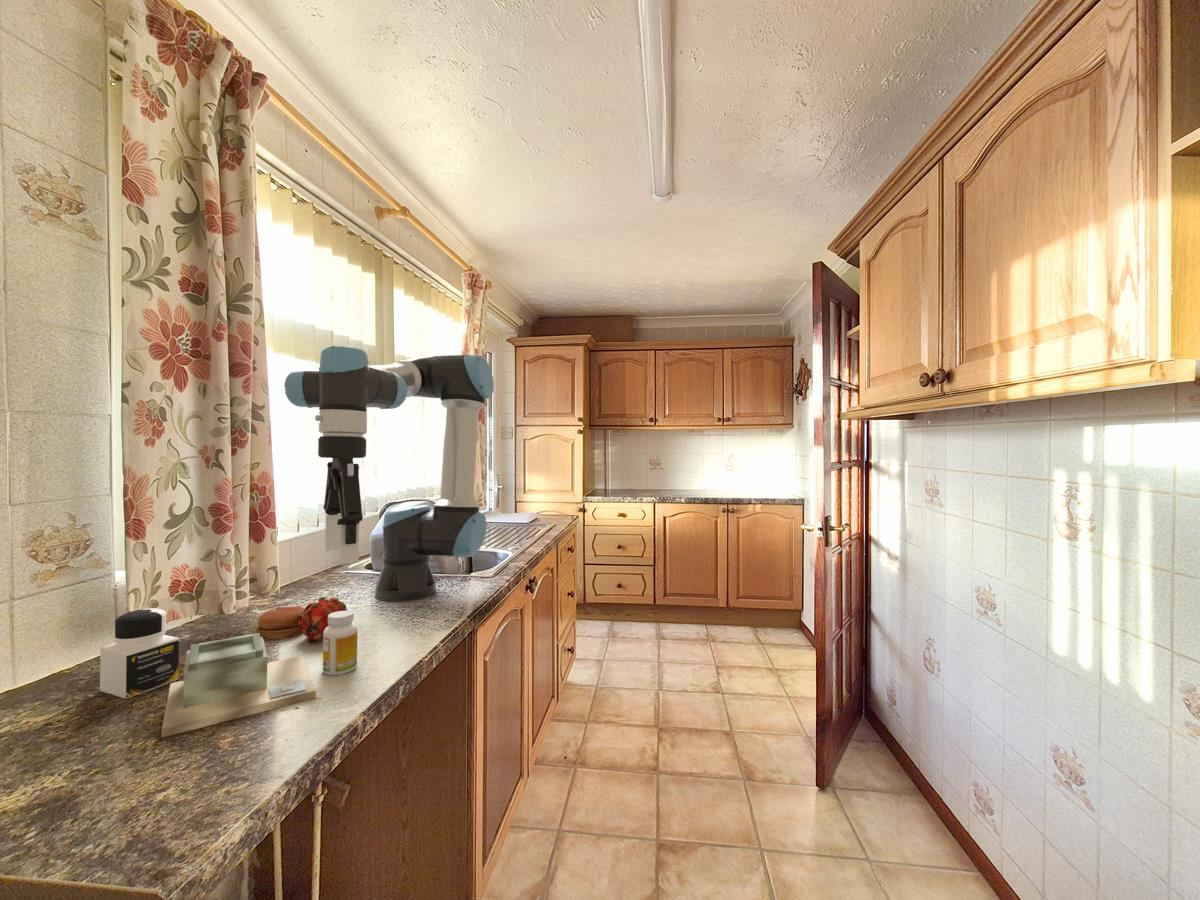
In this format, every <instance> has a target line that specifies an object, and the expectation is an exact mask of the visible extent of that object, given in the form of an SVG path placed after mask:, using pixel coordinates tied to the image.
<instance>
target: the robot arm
mask: <svg viewBox="0 0 1200 900" xmlns="http://www.w3.org/2000/svg"><path fill="white" fill-rule="evenodd" d="M368 358H369V357H368V354H367V352H366V351H365V350H364V349H362V348H358V347H353V346H348V345H347V346H346V345H329V346H326V347H323V348H322V349H321V351H320V360H319V368H318V369H309V368H307V369H306V368H305V369H297V370H293V371H292V372H289V374H288V375H287V376H286V378H285V380H284V391H285V392H284V393H285V396H286V398H287V399H288V401H289V402H290V403H291V404H292V405H294V406H296V407H299V408H308V409H313V408H318V410H319V411H318V413H319V414H316V415H315V416H314V420H315V421H316V422H319V423H318V432H319V433H321V434H322V436H321V435H320V436H319V437H318V440H317V441H318V443H317V447H318V449H317V455H318V457H319V458H324V459H325V458H326V459H331V458H332V460H331V461H328V462H327V464H326V466H327V475H326V476H327V477H326V483H325V484H326V486H325V491H324V492H325V493H324V505H323V508H322V509H324V513H325V540H324V541H325V543H324V545H325V546H324V550H325V551H326V552H327V551H338V550H339V559H338V560H339V561H338V562H339V563H338V564H339V565H340V566H341V565H348V564H357V563H359V551H360V550H359V549H360V548H359V547H360V546H359V542H360V541H359V538H360V535H359V534H360V522H361V521H363V519H364V515H363V510H362V498H361V489H360V477H359V475H360V466H359V463H354V461H353V460H354V459H364V458H366V456H367V439H366V437H365V436H364V435H366V434H367V432H368V410H367V409H368V408H378V409H382V410H385V409H386V410H393V409H397V408H399V407H400V406H401V405H403V404H404V403H405V400H406V399H407V398H410V397H411V398H412V397H417V398H419V397H420V398H427V399H428V398H431V399H440V402H439V403H440V404H441V405H442V406H443V408H444V409H445V416H444V417H445V419H444V433H443V434H444V436H443V449H442V450H443V452H442V467H441V482H440V486H441V487H440V498H439V499H438V500H437V502H435V503H434V504H433V511H431V506H430V505H416V506H415V505H414V506H409V507H407V506H406V507H399V508H395V509H390V510H388V511H386V512H385V513H384V516H383V524H382V535H383V536H382V539H383V540H382V568H381V571H380V574H379V576H378V580H377V582H376V585H375V589H374V590H375V594H374V596H375V598H376V599H378V600H381V601H387V602H406V601H414V600H418V599H419V600H420V599H425V598H427V597H430V596H432V595H433V594H435V593H436V591H437V590H436V589H437V584H436V579H435V576H434V573H433V570H432V568H431V564H430V557H432V556H433V557H453V558H455V559H456V558H457V559H458V558H471V557H473V556H475V555H476V554H478V552H479V550H480V549H481V547H482V545H483V543H484V540H485V539H486V538H485V537H486V533H487V527H488V526H487V517H486V515H485V514H484V513H482V512H480V505H479V504H478V503H477V501H475V499H474V498H475V484H476V483H475V482H476V465H477V450H478V449H477V448H478V428H479V427H478V426H479V412H480V411H481V410H482V409H484V408H485V404H486V402H485V401H486V399H490V398H492V396H493V393H494V388H495V386H494V377H493V373H492V370H491V366H490V364H489V363H488V361H487V359H485V358H484V356H482V355H476V354H468V353H467V354H457V355H447V354H446V355H428V356H427V355H426V356H421V357H420V356H419V357H415V358H409V359H400V360H397V361H395V362H393V363H392V364H385V365H384V364H383V365H369V359H368Z"/></svg>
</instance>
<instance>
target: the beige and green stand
mask: <svg viewBox="0 0 1200 900" xmlns="http://www.w3.org/2000/svg"><path fill="white" fill-rule="evenodd" d="M184 664H185V665H184V671H183V680H180V681H174V682H172V683H169V684H170V685H169V690H168V696H167V701H166V706H165V710H164V716H163V721H162V726H161V739H163V738H166V737H167V738H168V737H171V736H174V735H178V734H181V733H182V734H183V733H186V732H190V731H193V730H197V729H201V728H204V727H209V726H213V725H216V724H217V725H218V724H220V723H221V724H222V723H225V722H228V721H231V720H235V719H239V718H243V717H248V716H252V715H255V714H259V713H264V712H267V711H271V710H274V709H275V710H276V709H279V708H282V707H283V708H284V707H286V706H290V705H294V704H298V703H301V702H302V703H303V702H306V701H308V700H313V699H316V698H317V690H316V689H317V688H315V684H314V682H313V679H312V677H311V675H310V671H309V670H308V667H307V665H306V662H305V660H304V657H303V656H302V655H298V656H294V657H289V658H284V659H280V660H274V661H269V662H268V652H267V650H266V645H265V641H264V638H263V637H262V636H260V633H257V632H256V633H252V634H244V635H240V636H234V637H229V638H223V639H218V640H217V639H216V640H210V641H205V642H200V643H194V644H191V645H190V650H187V651H186V657H185V663H184Z"/></svg>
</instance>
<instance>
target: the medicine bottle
mask: <svg viewBox="0 0 1200 900" xmlns="http://www.w3.org/2000/svg"><path fill="white" fill-rule="evenodd" d="M166 620H167V612H166V611H165V610H163V609H161V608H155V607H154V608H153V607H152V608H142V609H136V610H133V611H132V610H131V611H128V612H125V613H124V614H122V615H120V616H118V617H117V618H116V619H115V621H114V642H113V643H110V644H107V645H106V644H105V645H103V646H102V647H100V649H99V650H100V653H99V654H100V656H99V657H100V661H99V662H100V663H99V665H100V666H99V673H100V674H99V691H100V692H102V693H106V694H108V695H111V694H112V696H115V697H118V698H122V699H124V698H125V700H128V698H129V699H131V697H132V698H134V697H133V696H135V695H137V696H139V695H138V694H140V695H142V694H144V693H143V692H145V693H147V692H146V691H148V692H150V691H153V690H156V689H158V688H161V687H163V685H164V686H166V685H169V684H171V683H170V682H172V683H174V682H177V681H178V680H179V678H180V677H179V675H180V671H179V670H180V664H179V663H180V660H179V659H180V638H179V637H176V636H171V635H167V634H166V631H167V628H166V627H167V626H166V625H167V621H166ZM176 680H177V681H176ZM173 681H174V682H173ZM168 683H169V684H168ZM165 684H166V685H165ZM160 686H161V687H160ZM157 687H158V688H157ZM155 688H156V689H155ZM152 689H153V690H152ZM149 690H150V691H149ZM141 693H142V694H141ZM135 697H136V696H135Z"/></svg>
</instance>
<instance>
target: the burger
mask: <svg viewBox="0 0 1200 900" xmlns="http://www.w3.org/2000/svg"><path fill="white" fill-rule="evenodd" d="M305 608H306V607H303V606H299V605H298V606H297V605H295V606H282V607H280V606H279V607H275V608H273V609H269V610H267V611H265V612H264V613H263V614H261V615H260V616H259V618H258V621H257V624H258V626H257V627H256V628H255V629H256V630H255V632H256V633H260V635H261V636H260V637H265V638H264V639H270V640H276V639H275V638H278V639H283V638H284V639H285V638H289V637H290V636H291V637H294V636H297V635H300V634H303V633H302V631H300V630H299V628H300V627H299V617H300V616H301V614H302V613H303V611H304V610H305ZM272 638H274V639H272Z"/></svg>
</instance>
